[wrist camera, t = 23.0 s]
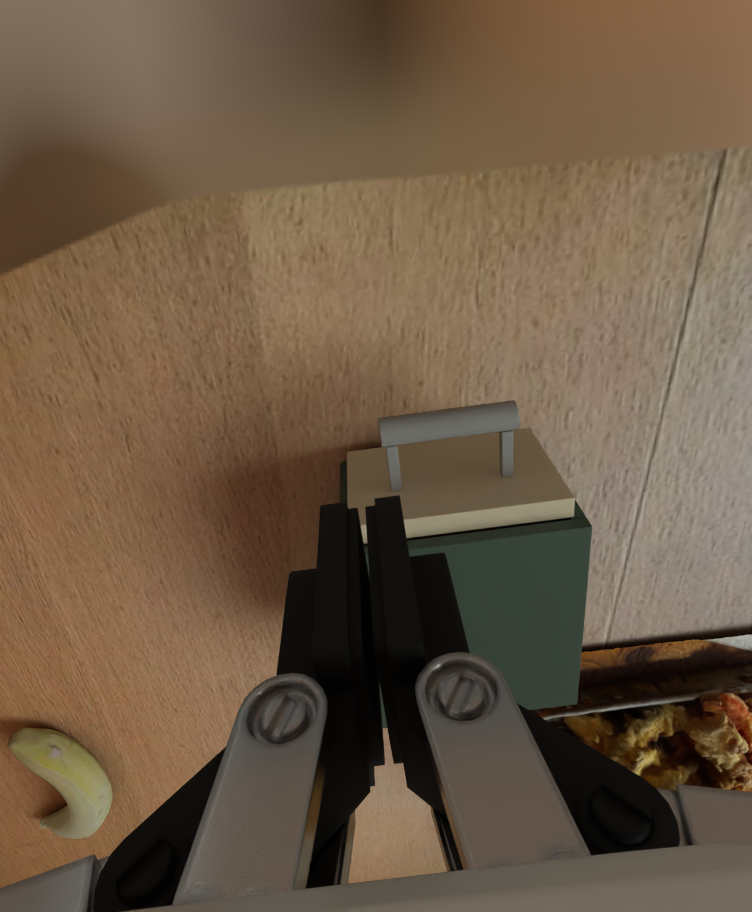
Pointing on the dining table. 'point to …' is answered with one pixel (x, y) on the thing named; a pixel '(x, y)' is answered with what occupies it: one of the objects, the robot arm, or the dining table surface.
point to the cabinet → (520, 601)
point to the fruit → (66, 779)
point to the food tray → (668, 711)
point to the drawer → (459, 472)
